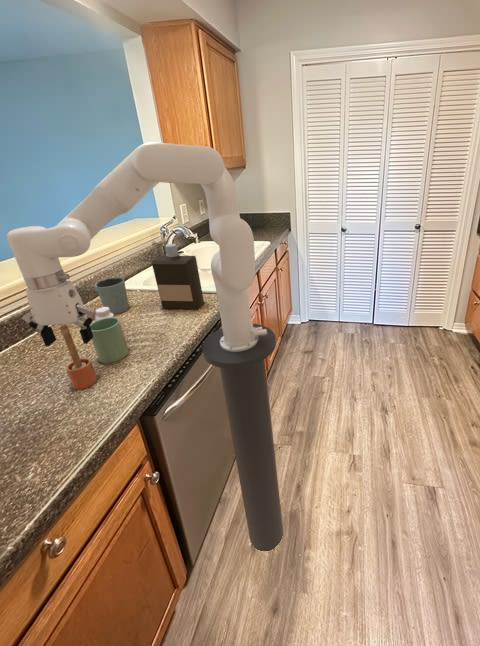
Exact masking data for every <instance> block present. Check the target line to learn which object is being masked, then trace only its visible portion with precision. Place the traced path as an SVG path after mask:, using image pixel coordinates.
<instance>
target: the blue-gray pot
mask: <svg viewBox="0 0 480 646" xmlns="http://www.w3.org/2000/svg"><path fill="white" fill-rule="evenodd" d="M94 288H95V289H96V292H97V294H98V297H99V299H100V301H101V304H102V307H109V309H110V313H113V315H116V314H121V313H123V312H126V311H128V309H129V308H130V304H129V298H128V293H127V288H126V282H125V278H123V277H119V276H113V277H107V278H103V279H100V280H98V281H97V282H96V283H95V284H94Z"/></svg>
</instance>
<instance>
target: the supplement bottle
mask: <svg viewBox="0 0 480 646" xmlns="http://www.w3.org/2000/svg"><path fill="white" fill-rule="evenodd" d="M95 310H96V314H95V321H98V320H100V319H104V318H110V317H115V314H113V313H110V309H109V307H104V306H102V307H98V308H97V309H95Z"/></svg>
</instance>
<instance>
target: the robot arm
mask: <svg viewBox="0 0 480 646" xmlns="http://www.w3.org/2000/svg"><path fill="white" fill-rule="evenodd" d="M159 183H166V184H192V185H193V184H195V185H196V184H197V185H200V186H201V187H202V189H203V191H204V194H205V199H206V204H207V214H208V224H209V236H210V237H211V240H212V241H213V242H214V243H215V244H216V245H217V246H218V248H219V250H218V251H217V252H216V253H214V254H213V256H212V258H211V261H210V271H211V275H212V279H213V283H214V287H215V292H216V298H217V304H218V310H219V317H220V321H221V322H220V323H221V329H223V335H224V336H223V337H222V338H221V339H220V346H221V348H222V349H224V350H226V351H229V352H241V351H245V350H248V349H250V348H252V347H253V346H255V345H256V344H257V342H258V336H260V335H267V330H266V329H263V330H262V327H258V328H255V327H253V324H254V323H252V315H251V308H250V306H251V305H250V300H249V299H250V297H249V296H250V295H249V290H248V288H249V287H251V285H252V284H253V282H254V280H255V277H256V254H255V239H254V233H253V230H252V228H251V226H250V225H249V223H247V221H245V220H244V219H243V218H241V214H240V207H239V200H238V199H239V198H238V192H237V191H238V190H237V187H236V184H235V181H234V179H233V177H232V175H231V174H230V172H229V170H228V168H226V166H225V162H224V159H223V157H222V155H221V154H220V153H219V151H217V150H216V149H215V148H213V147H210V146H206V145H195V144H194V145H192V144H179V143H178V144H176V143H167V142H164V143H163V142H157V141H148V142H145V143H142V144H140V145H138V146H137V147H136V148H135V149H133V151H132V152H130V153H129V154H128V155H127V156H126V157H125V158H124V159H123V160H122V161H120V162H119V164H118V165H117V166H115V167H114V168H113V169H112V170H111V171H110V172H109V173H108V174H107V175H106V176H104V178H102V179H101V181H99V182H98V183H97V184H96V185H95V187H94V188H93V189H92V190H91V192H89V194H88V195H87V196H86V197H84V198H83V200H82V201H81V202H80V203H78V205H76V206H75V207H74V208H73V209H72V210H71V211H70V212H69V213H68V214H67V215H66V216H65V217H64V218H62V219H61V220H60V221H59V222H58V223H57V224H56V225H55V226H53V227H52V226H51V227H47V228H46V227H45V226H41V225H32V226H24V227H18V228H14V229H12V230H10V231H8V232H7V234H6V239H7V242H8V245H9V247H10V249H11V252H12V254H13V256H14V258H15V262H16V264H17V266H18V268H19V271H20V273H21V275H22V278H23V280H24V283H25V285H26V287H27V288H26V289H25V291H26V292H25V293H26V298H27V303H28V306H29V310H30V311H28V312H27V313H25V314H24V315H23V316H22V317H21V318H22V320H23V321H24V322H25V323H27V324H28V326H29V327H30V328H32V329H33V330H35V332H36V333H38V334H40V337H41V339H42V341H43V344H44V346H45V347H50V346H51V345H52V344H53V343H55V342H56V341H57V338H56V335H55V333H54V329H53V327H51V326H59V325H60V326H61V325H72V324H74V325H75V326H77V327H78V328H79V335H80V337H81V340H82V342H83V344H84V345H86V344H87V345H88V343H89V342H90V341H92V338H93V333H92V330H91V327H90V324H92V323H93V322H94V321H95V320H96V310H97V309H94V308H91V307H88V306H86V305H84V301H83V300H82V298H81V296H80V294H79V292H78V290H77V289H76V287H75V285H74V284H73V283H72V281H71V280H70V274H69V273H65V272H64V269H63V266H62V264H61V261H60V258H75V257H79V256H82V255H84V254H85V253H86V252H87V251H88V250H89V248H90V247H91V242H92V240H93V239H94V237H96V236H97V234H98V233H100V232H101V231H102V230H103V229H104V228H105V227H106V226H107V225H108V224H110V223H111V221H113V220H115V219H116V218H118V217H119V216H121V215H124V214H127V213H128V212H129V211H130V210H132V209H133V208H134V207H135V206H137V204H138V203H140V201H141V200H142V199H143V198H144V197H146V196H147V195H148V194H149V193H150V192H151V191H152V190H153V189H155V187H156V186H158V184H159ZM86 315H87V316H86Z"/></svg>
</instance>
